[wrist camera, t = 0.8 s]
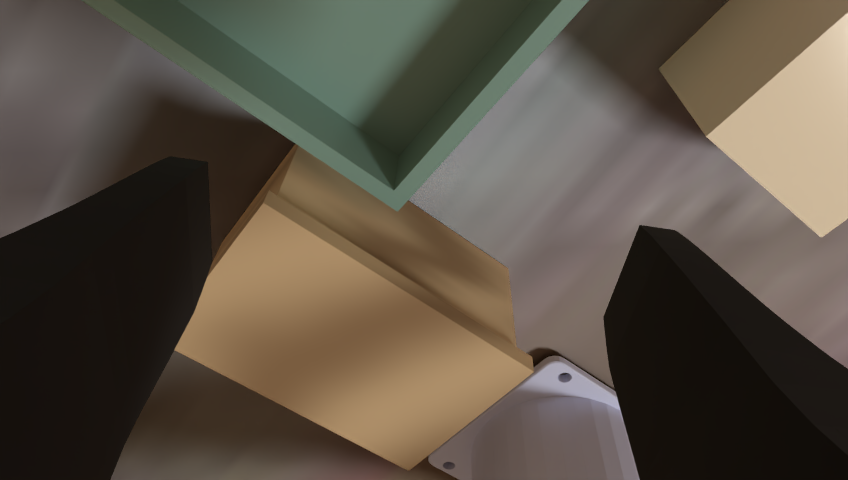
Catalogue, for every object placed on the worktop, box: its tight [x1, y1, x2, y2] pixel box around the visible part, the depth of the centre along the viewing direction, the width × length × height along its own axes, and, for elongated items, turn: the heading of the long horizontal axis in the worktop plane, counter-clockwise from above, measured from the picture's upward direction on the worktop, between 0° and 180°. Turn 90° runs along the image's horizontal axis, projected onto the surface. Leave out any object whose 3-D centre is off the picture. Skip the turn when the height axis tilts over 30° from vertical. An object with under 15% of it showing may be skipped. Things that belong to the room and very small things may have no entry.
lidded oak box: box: [175, 144, 534, 471], centre depth 21 cm, size 9×6×5 cm, turn 52°
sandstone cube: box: [659, 0, 848, 238], centre depth 17 cm, size 4×4×4 cm
